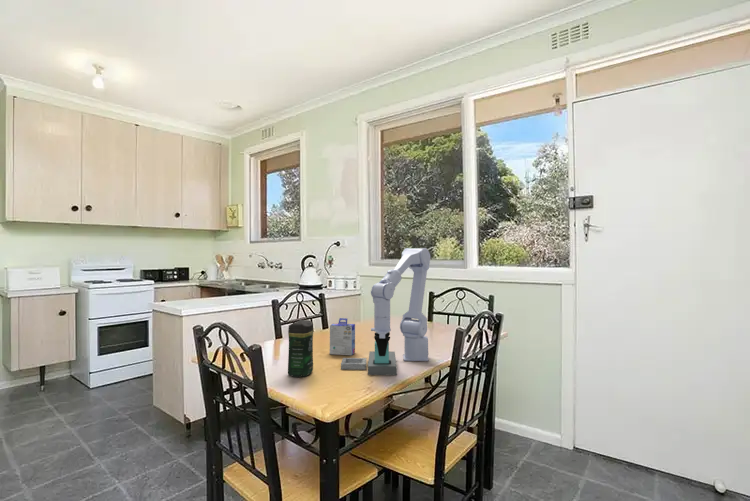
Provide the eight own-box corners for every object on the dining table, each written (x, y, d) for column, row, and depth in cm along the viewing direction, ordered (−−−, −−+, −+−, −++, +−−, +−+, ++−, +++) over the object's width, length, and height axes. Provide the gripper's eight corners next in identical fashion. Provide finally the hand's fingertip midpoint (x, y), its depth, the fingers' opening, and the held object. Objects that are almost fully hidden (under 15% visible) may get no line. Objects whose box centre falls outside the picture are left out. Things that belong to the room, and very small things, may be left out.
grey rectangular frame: (366, 363, 154) (366, 358, 153) (365, 369, 146) (365, 364, 145) (342, 363, 154) (342, 357, 154) (340, 369, 146) (340, 363, 146)
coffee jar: (307, 378, 135) (307, 323, 135) (284, 377, 137) (284, 322, 137) (316, 370, 145) (316, 318, 145) (295, 368, 146) (295, 318, 146)
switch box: (394, 359, 159) (394, 351, 159) (396, 375, 139) (396, 365, 139) (369, 358, 159) (369, 350, 159) (367, 374, 139) (367, 365, 139)
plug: (388, 360, 146) (388, 336, 146) (388, 363, 142) (388, 339, 142) (374, 360, 146) (374, 336, 146) (374, 363, 142) (374, 339, 142)
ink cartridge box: (355, 352, 169) (355, 318, 169) (352, 356, 164) (352, 320, 164) (333, 351, 171) (333, 317, 171) (329, 354, 166) (329, 319, 166)
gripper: (371, 313, 152) (371, 349, 152) (370, 319, 137) (370, 359, 137) (390, 313, 151) (390, 349, 152) (391, 320, 137) (391, 359, 137)
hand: (382, 354), depth 144 cm, fingers closed on plug, 4 cm apart
